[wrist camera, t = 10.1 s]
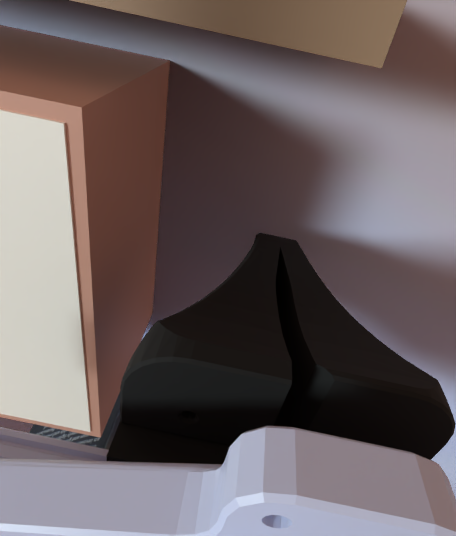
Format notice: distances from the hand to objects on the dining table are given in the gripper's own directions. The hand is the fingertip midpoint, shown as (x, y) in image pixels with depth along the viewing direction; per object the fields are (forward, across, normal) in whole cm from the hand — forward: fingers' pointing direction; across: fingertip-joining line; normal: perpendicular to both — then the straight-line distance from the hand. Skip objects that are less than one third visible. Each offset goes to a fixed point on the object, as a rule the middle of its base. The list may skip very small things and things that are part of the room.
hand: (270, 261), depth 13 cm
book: (+2, +7, 0) cm, 7 cm away
